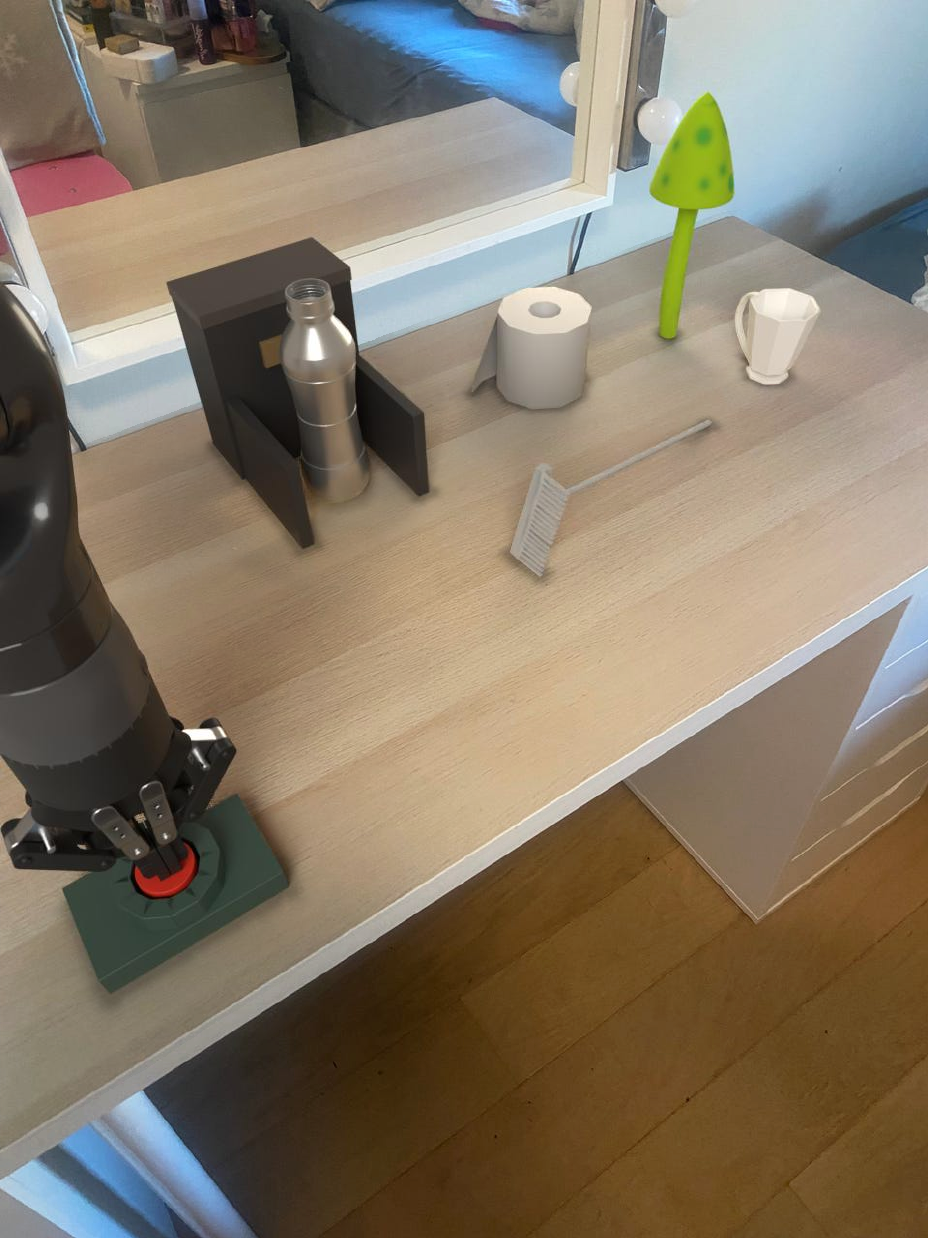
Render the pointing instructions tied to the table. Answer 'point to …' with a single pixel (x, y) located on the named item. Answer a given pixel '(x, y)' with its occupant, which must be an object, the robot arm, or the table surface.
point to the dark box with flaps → (281, 376)
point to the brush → (542, 501)
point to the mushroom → (691, 192)
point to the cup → (775, 331)
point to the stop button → (169, 879)
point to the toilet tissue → (538, 347)
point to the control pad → (174, 897)
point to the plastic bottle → (323, 393)
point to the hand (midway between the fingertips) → (166, 864)
